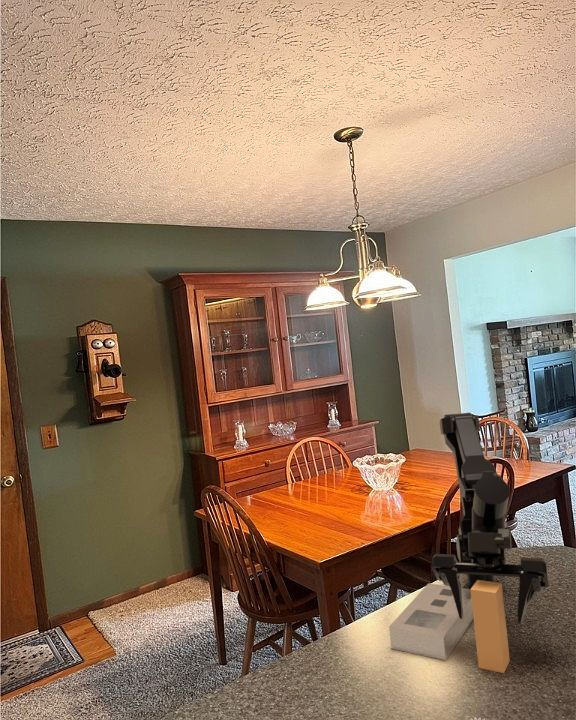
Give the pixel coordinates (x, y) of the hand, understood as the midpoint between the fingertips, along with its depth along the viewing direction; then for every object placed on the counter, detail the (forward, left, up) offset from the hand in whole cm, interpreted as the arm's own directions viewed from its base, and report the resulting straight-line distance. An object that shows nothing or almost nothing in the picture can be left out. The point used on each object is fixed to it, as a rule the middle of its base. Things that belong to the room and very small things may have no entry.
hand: (489, 620), depth 93 cm
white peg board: (-9, -13, -7) cm, 17 cm away
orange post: (-1, 0, -7) cm, 8 cm away
